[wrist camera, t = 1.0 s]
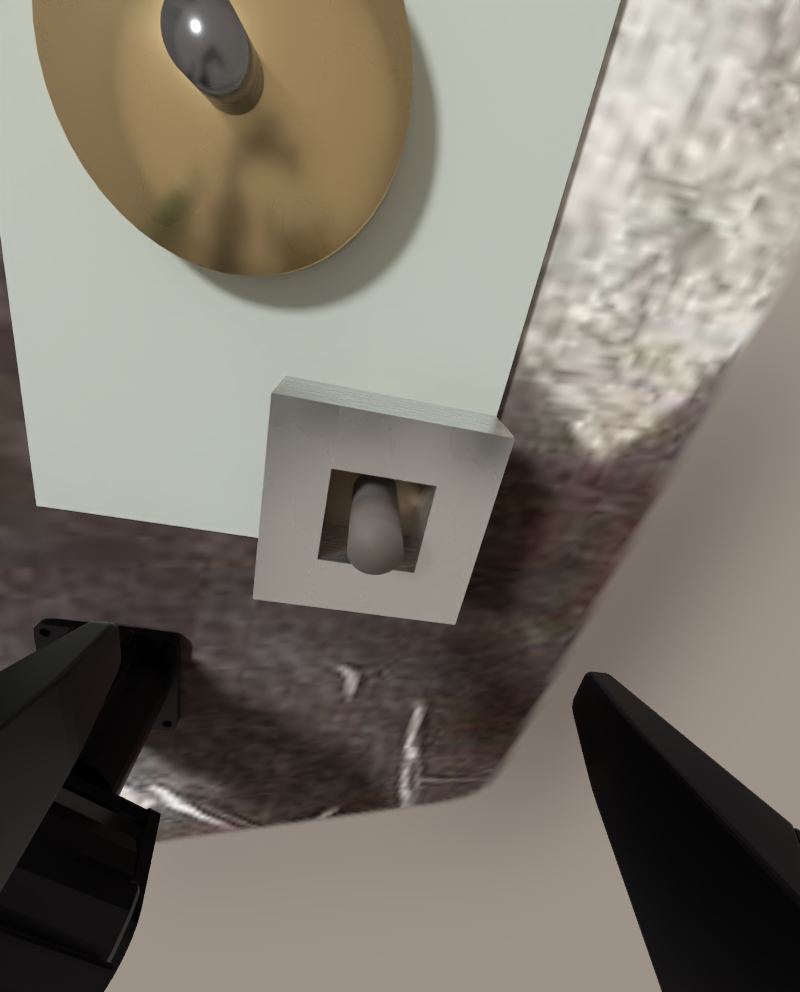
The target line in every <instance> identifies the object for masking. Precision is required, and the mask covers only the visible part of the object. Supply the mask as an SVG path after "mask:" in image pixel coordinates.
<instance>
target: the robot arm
mask: <svg viewBox="0 0 800 992" xmlns="http://www.w3.org/2000/svg"><path fill="white" fill-rule="evenodd" d="M47 629H48V630H47ZM34 637H35V644H36V650H37V651H36V652H34V653H32V654H31V655H29V656H27V657H25V658H23V659H22V660H20V661H18V662H16V663H14V664H13V665H11V666H9V667H7V668H6V669H4V670H2V671H0V992H104V991H105V989H106V988H107V986H108V984H109V982H110V981H111V979H112V978H113V976H114V974H115V972H116V970H117V969H118V967H119V965H120V963H121V961H122V959H123V957H124V955H125V953H126V951H127V949H128V946H129V944H130V942H131V940H132V937H133V934H134V931H135V929H136V926H137V923H138V920H139V916H140V912H141V909H142V904H143V899H144V894H145V889H146V884H147V879H148V874H149V869H150V864H151V859H152V855H153V850H154V845H155V840H156V835H157V830H158V825H159V820H160V815H161V814H160V813H159V812H157V811H155V810H153V809H151V808H148V809H145V808H143V807H141V806H139V805H137V804H135V803H133V802H131V801H129V800H127V799H125V798H123V797H121V796H119V795H120V793H121V791H122V789H123V787H124V785H125V783H126V780H127V778H128V776H129V774H130V772H131V770H132V768H133V766H134V764H135V762H136V760H137V758H138V756H139V754H140V752H141V750H142V748H143V746H144V743H145V741H146V739H147V737H148V735H149V733H150V731H151V729H158V730H173V729H175V728H176V726H177V724H178V721H179V719H180V638H179V637H178V636H177V635H175V634H173V633H168V632H160V631H151V630H142V629H134V628H125V627H118V626H117V624H115V623H113V622H103V621H91V622H88V623H82V622H73V621H65V620H56V619H43V620H41V621H40V622H39V623H38V624H37V625H36V627H35V628H34ZM166 642H168V643H170V644H167V643H166ZM572 709H573V715H574V719H575V723H576V727H577V731H578V735H579V740H580V744H581V748H582V752H583V755H584V760H585V764H586V768H587V772H588V776H589V780H590V783H591V787H592V791H593V794H594V797H595V800H596V803H597V806H598V809H599V812H600V814H601V817H602V820H603V823H604V826H605V829H606V832H607V835H608V838H609V841H610V843H611V846H612V849H613V852H614V855H615V858H616V861H617V864H618V866H619V869H620V872H621V875H622V878H623V881H624V884H625V887H626V890H627V892H628V895H629V898H630V901H631V904H632V907H633V910H634V912H635V916H636V918H637V921H638V924H639V927H640V930H641V933H642V936H643V938H644V941H645V944H646V947H647V950H648V953H649V956H650V958H651V961H652V965H653V967H654V970H655V973H656V976H657V979H658V982H659V984H660V988H661V990H662V992H800V830H798V829H796V828H795V829H794V828H793V825H792V824H791V823H790V822H789V821H787V820H786V819H785V818H784V817H782V816H781V815H780V814H779V813H777V812H776V811H775V810H774V809H773V808H772V807H770V806H769V805H768V804H767V803H765V802H764V801H763V800H762V799H761V798H759V797H758V796H757V795H756V794H754V793H753V792H752V791H751V790H750V789H748V788H747V787H746V786H745V785H743V784H742V783H741V782H740V781H739V780H737V779H736V778H735V777H734V776H733V775H731V774H730V773H729V772H728V771H726V770H725V769H724V768H722V766H720V765H719V764H718V763H717V762H715V761H714V760H713V759H712V758H710V757H709V756H708V755H707V754H706V753H705V752H703V751H702V750H701V749H700V748H698V747H697V746H696V745H695V744H694V743H692V742H691V741H690V740H689V739H687V738H686V737H685V736H684V735H683V734H681V733H680V732H679V731H678V730H677V729H675V728H674V727H673V726H672V725H670V724H669V723H668V722H667V721H666V720H664V719H663V718H662V717H661V716H659V715H658V714H657V713H656V712H654V711H653V710H652V709H650V707H649V706H647V705H646V704H645V703H644V702H642V701H641V700H640V699H639V698H637V697H636V696H635V695H634V694H633V693H631V692H630V691H629V690H628V689H627V688H625V687H624V686H623V685H622V684H621V683H619V682H618V681H617V680H616V679H614V678H613V677H612V676H611V675H609V674H607V673H599V672H588V673H587V674H586V675H585V676H584V678H583V680H582V682H581V684H580V686H579V688H578V691H577V693H576V695H575V697H574V699H573V705H572Z"/></svg>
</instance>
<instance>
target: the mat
mask: <svg viewBox="0 0 800 992" xmlns="http://www.w3.org/2000/svg"><path fill="white" fill-rule="evenodd" d="M620 1H621V0H404V4H405V9H406V14H407V20H408V25H409V30H410V39H411V50H412V62H413V80H412V101H411V110H410V118H409V125H408V129H407V134H406V138H405V142H404V147H403V151H402V155H401V159H400V163H399V166H398V168H397V171H396V174H395V177H394V180H393V183H392V185H391V187H390V189H389V191H388V193H387V195H386V197H385V199H384V201H383V203H382V205H381V206H380V208H379V209H378V211H377V212H376V214H375V215H374V217H373V219H372V220H371V221H370V223H369V224H368V225H367V226H366V227H365V228H364V230H363V231H362V232H361V233H360V234H359V235H358V237H356V238H355V239H354V240H353V241H352V242H351V243H350V244H349V245H347V246H346V247H345V248H344V249H343V250H341V251H340V252H338V253H337V254H335V255H334V256H332V257H331V258H329V259H328V260H326V261H324V262H322V263H319V264H317V265H315V266H313V267H311V268H308V269H305V270H301V271H298V272H294V273H290V274H283V275H275V276H242V275H235V274H228V273H222V272H218V271H215V270H211V269H208V268H205V267H201V266H199V265H196V264H194V263H192V262H189V261H187V260H185V259H182V258H180V257H178V256H177V255H175V254H173V253H171V252H170V251H168V250H166V249H165V248H163V247H161V246H159V245H158V244H157V243H155V242H154V241H153V240H151V239H150V238H149V237H147V236H146V235H145V234H143V233H142V232H140V231H139V230H138V229H137V228H136V227H135V226H134V225H133V224H131V223H130V222H129V221H128V220H127V219H126V218H125V217H124V216H123V215H122V214H121V213H120V212H119V211H118V210H117V209H116V208H115V207H114V206H113V205H112V203H111V202H110V201H109V200H108V199H107V198H106V197H105V196H104V194H103V193H102V192H101V191H100V189H99V188H98V187H97V185H96V184H95V183H94V181H93V180H92V178H91V177H90V176H89V174H88V173H87V172H86V170H85V169H84V167H83V165H82V164H81V162H80V160H79V159H78V157H77V155H76V153H75V152H74V150H73V148H72V147H71V145H70V143H69V141H68V139H67V137H66V135H65V133H64V131H63V128H62V126H61V124H60V122H59V120H58V118H57V115H56V113H55V110H54V107H53V105H52V102H51V99H50V96H49V93H48V90H47V88H46V85H45V81H44V77H43V73H42V69H41V65H40V61H39V57H38V53H37V46H36V39H35V32H34V25H33V13H32V0H0V236H1V244H2V251H3V259H4V266H5V274H6V281H7V288H8V296H9V303H10V311H11V318H12V326H13V333H14V341H15V348H16V356H17V363H18V371H19V378H20V385H21V393H22V400H23V408H24V415H25V423H26V430H27V438H28V445H29V453H30V460H31V467H32V475H33V482H34V490H35V497H36V505H37V506H42V507H49V508H56V509H63V510H70V511H77V512H84V513H91V514H98V515H104V516H111V517H118V518H125V519H132V520H139V521H146V522H153V523H159V524H166V525H173V526H180V527H187V528H194V529H201V530H208V531H215V532H221V533H228V534H235V535H242V536H249V537H256V538H258V535H259V524H260V513H261V502H262V491H263V480H264V469H265V457H266V446H267V435H268V424H269V413H270V402H271V393H272V391H273V390H274V389H275V388H276V387H277V386H278V384H279V383H280V382H281V381H282V380H283V379H284V377H285V376H291V377H296V378H302V379H307V380H312V381H317V382H322V383H328V384H333V385H338V386H343V387H348V388H354V389H359V390H364V391H369V392H374V393H380V394H385V395H390V396H395V397H400V398H406V399H411V400H416V401H421V402H426V403H432V404H437V405H442V406H447V407H452V408H458V409H463V410H468V411H473V412H478V413H484V414H489V415H494V416H496V417H497V413H498V410H499V407H500V403H501V400H502V396H503V393H504V390H505V386H506V383H507V380H508V376H509V373H510V370H511V366H512V363H513V360H514V356H515V353H516V350H517V346H518V343H519V340H520V336H521V333H522V329H523V326H524V323H525V319H526V316H527V313H528V309H529V306H530V303H531V299H532V296H533V293H534V289H535V286H536V283H537V279H538V276H539V272H540V269H541V266H542V262H543V259H544V256H545V252H546V249H547V246H548V242H549V239H550V236H551V232H552V229H553V226H554V222H555V219H556V216H557V212H558V209H559V205H560V202H561V199H562V195H563V192H564V189H565V185H566V182H567V179H568V175H569V172H570V169H571V165H572V162H573V159H574V155H575V152H576V149H577V145H578V142H579V138H580V135H581V132H582V128H583V125H584V122H585V118H586V115H587V112H588V108H589V105H590V102H591V98H592V95H593V92H594V88H595V85H596V82H597V78H598V75H599V71H600V68H601V65H602V61H603V58H604V55H605V51H606V48H607V45H608V41H609V38H610V35H611V31H612V28H613V25H614V21H615V18H616V14H617V11H618V8H619V4H620Z"/></svg>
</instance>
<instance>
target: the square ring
mask: <svg viewBox="0 0 800 992" xmlns="http://www.w3.org/2000/svg"><path fill="white" fill-rule="evenodd" d="M514 440H515V438H514V436H513V435H512V434H511V433H510V432H509V431H508V430H507V428H506V427H505V426H504V425H503V424H502V423H501V421H500V420H499V419H498V418H497V417H496V416H494V415H489V414H484V413H478V412H473V411H468V410H463V409H458V408H452V407H447V406H442V405H437V404H432V403H426V402H421V401H416V400H411V399H406V398H400V397H395V396H390V395H385V394H380V393H374V392H369V391H364V390H359V389H354V388H348V387H343V386H338V385H333V384H328V383H322V382H317V381H312V380H307V379H302V378H296V377H291V376H285V377H284V379H283V380H282V381H281V382H280V383H279V384H278V386H277V387H276V388H275V389H274V390H273V391H272V393H271V402H270V413H269V424H268V435H267V446H266V457H265V469H264V480H263V491H262V502H261V513H260V524H259V535H258V546H257V557H256V568H255V580H254V591H253V599H258V600H265V601H273V602H281V603H289V604H297V605H304V606H312V607H320V608H328V609H336V610H344V611H351V612H359V613H367V614H375V615H383V616H390V617H398V618H406V619H414V620H422V621H430V622H437V623H445V624H453V625H455V624H456V620H457V617H458V614H459V611H460V608H461V605H462V602H463V599H464V596H465V592H466V589H467V586H468V583H469V580H470V577H471V574H472V571H473V568H474V565H475V561H476V558H477V555H478V552H479V549H480V546H481V543H482V540H483V537H484V533H485V530H486V527H487V524H488V521H489V518H490V515H491V512H492V509H493V505H494V502H495V499H496V496H497V493H498V490H499V487H500V484H501V481H502V478H503V474H504V471H505V468H506V465H507V462H508V459H509V456H510V453H511V450H512V446H513V443H514ZM333 469H337V470H343V471H349V472H355V473H361V474H367V475H373V476H379V477H385V478H391V479H397V480H403V481H409V482H415V483H420V484H422V486H421V490H420V494H419V498H418V502H417V506H416V510H415V514H414V518H413V522H412V526H411V530H410V535H409V536H403V535H402V537H403V546H404V554H403V558H402V560H401V562H400V563H399V565H398V566H397V567H396V568H395V569H393V570H392V571H390V572H388V573H385V574H381V575H369V574H365V573H363V572H360V571H359V570H357V569H356V568H355V567H354V566H353V565H352V564H351V563H350V561H349V559H348V556H347V544H348V533H349V527H344V526H337V525H331V524H324V522H325V515H326V509H327V503H328V496H329V490H330V483H331V477H332V470H333Z"/></svg>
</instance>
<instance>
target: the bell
mask: <svg viewBox="0 0 800 992" xmlns="http://www.w3.org/2000/svg"><path fill="white" fill-rule="evenodd" d="M32 13H33V25H34V32H35V39H36V46H37V53H38V57H39V61H40V65H41V69H42V73H43V77H44V81H45V85H46V88H47V90H48V93H49V96H50V99H51V102H52V105H53V107H54V110H55V113H56V115H57V118H58V120H59V122H60V124H61V126H62V128H63V131H64V133H65V135H66V137H67V139H68V141H69V143H70V145H71V147H72V148H73V150H74V152H75V153H76V155H77V157H78V159H79V160H80V162H81V164H82V165H83V167H84V169H85V170H86V172H87V173H88V174H89V176H90V177H91V178H92V180H93V181H94V183H95V184H96V185H97V187H98V188H99V189H100V191H101V192H102V193H103V194H104V196H105V197H106V198H107V199H108V200H109V201H110V202H111V203H112V205H113V206H114V207H115V208H116V209H117V210H118V211H119V212H120V213H121V214H122V215H123V216H124V217H125V218H126V219H127V220H128V221H129V222H130V223H131V224H133V225H134V226H135V227H136V228H137V229H138V230H139V231H140V232H142V233H143V234H145V235H146V236H147V237H149V238H150V239H151V240H153V241H154V242H155V243H157V244H158V245H159V246H161V247H163V248H165V249H166V250H168V251H170V252H171V253H173V254H175V255H177V256H178V257H180V258H182V259H185V260H187V261H189V262H192V263H194V264H196V265H199V266H201V267H205V268H208V269H211V270H215V271H218V272H222V273H228V274H235V275H242V276H275V275H283V274H290V273H294V272H298V271H301V270H305V269H308V268H311V267H313V266H315V265H317V264H319V263H322V262H324V261H326V260H328V259H329V258H331V257H332V256H334V255H335V254H337V253H338V252H340V251H341V250H343V249H344V248H345V247H346V246H347V245H349V244H350V243H351V242H352V241H353V240H354V239H355V238H356V237H358V235H359V234H360V233H361V232H362V231H363V230H364V228H365V227H366V226H367V225H368V224H369V223H370V221H371V220H372V219H373V217H374V215H375V214H376V212H377V211H378V209H379V208H380V206H381V205H382V203H383V201H384V199H385V197H386V195H387V193H388V191H389V189H390V187H391V185H392V183H393V180H394V177H395V174H396V171H397V168H398V166H399V163H400V159H401V155H402V151H403V147H404V142H405V138H406V134H407V129H408V125H409V118H410V110H411V101H412V80H413V62H412V50H411V39H410V30H409V25H408V20H407V14H406V9H405V4H404V0H32Z"/></svg>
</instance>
